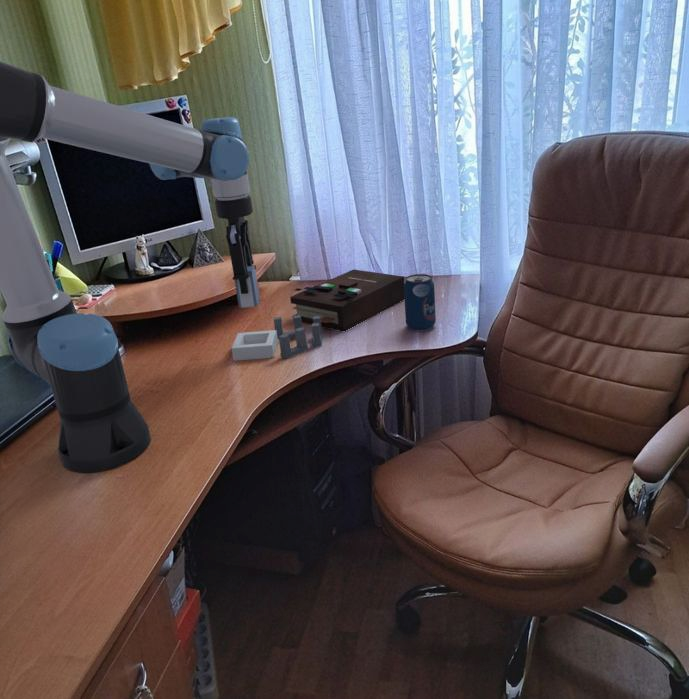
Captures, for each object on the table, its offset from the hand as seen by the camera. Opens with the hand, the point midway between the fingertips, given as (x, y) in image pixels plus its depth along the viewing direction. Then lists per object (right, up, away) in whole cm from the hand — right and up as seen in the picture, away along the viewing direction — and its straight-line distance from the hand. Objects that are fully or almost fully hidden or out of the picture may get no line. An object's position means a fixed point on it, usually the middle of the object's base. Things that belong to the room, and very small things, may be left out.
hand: (249, 302), depth 146 cm
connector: (0, 0, 0) cm, 0 cm away
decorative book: (+23, -1, +24) cm, 33 cm away
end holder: (+1, -11, +4) cm, 12 cm away
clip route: (+10, -10, +5) cm, 15 cm away
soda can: (+39, -5, +9) cm, 40 cm away
